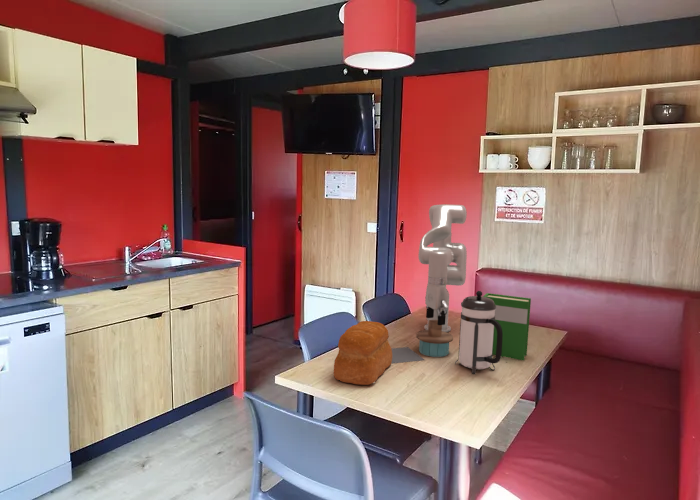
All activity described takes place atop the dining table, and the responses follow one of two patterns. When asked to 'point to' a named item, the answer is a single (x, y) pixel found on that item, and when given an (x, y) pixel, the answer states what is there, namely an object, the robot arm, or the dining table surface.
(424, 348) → the bowl
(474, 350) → the coffee press
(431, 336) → the lid
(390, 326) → the dining table surface
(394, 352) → the mat
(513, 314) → the hardback book
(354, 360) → the bread
